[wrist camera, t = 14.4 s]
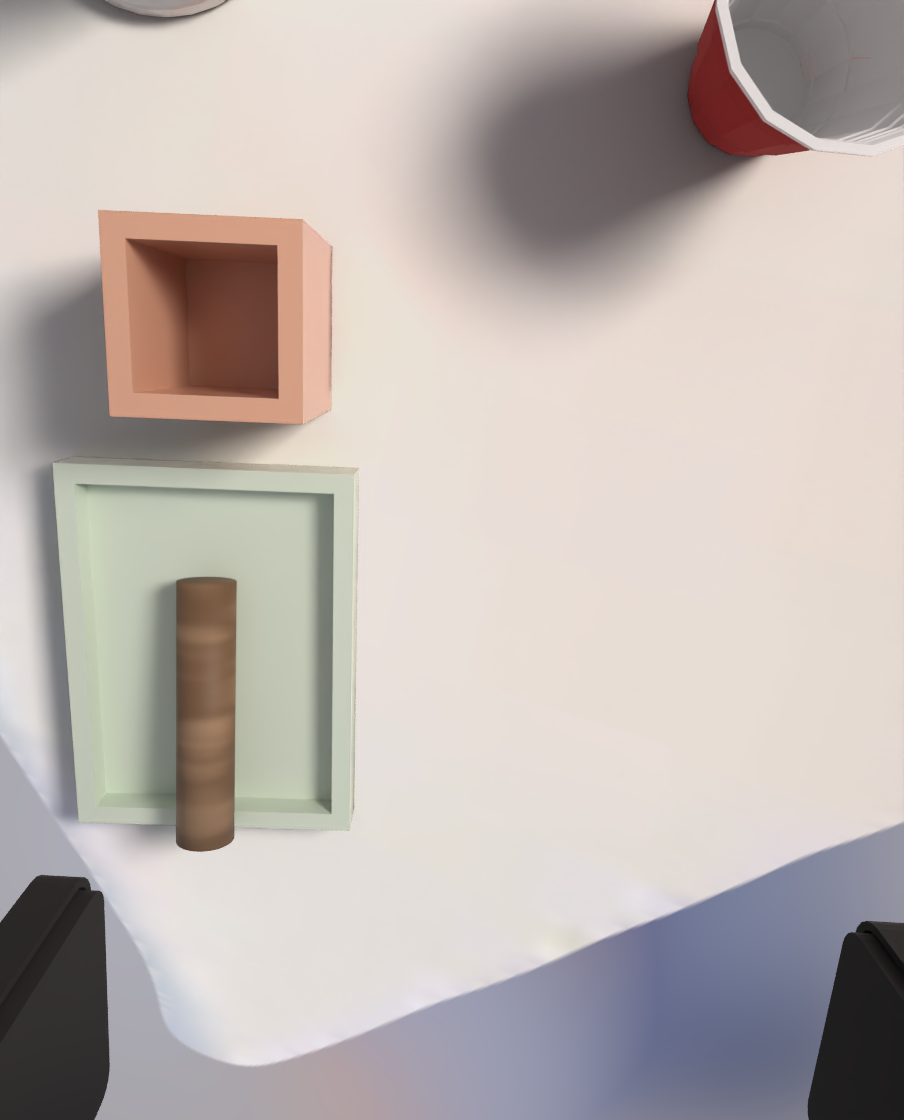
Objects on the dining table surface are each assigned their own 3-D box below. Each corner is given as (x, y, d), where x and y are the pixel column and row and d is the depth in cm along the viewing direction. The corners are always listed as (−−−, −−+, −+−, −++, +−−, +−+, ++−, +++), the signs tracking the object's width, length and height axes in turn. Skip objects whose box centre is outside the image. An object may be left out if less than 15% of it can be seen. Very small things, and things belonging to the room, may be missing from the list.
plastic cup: (898, 136, 41) (1079, 51, 29) (697, 252, 42) (794, 214, 30) (809, -89, 38) (967, -280, 27) (599, 40, 40) (663, -89, 28)
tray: (73, 456, 44) (52, 462, 42) (358, 468, 44) (354, 474, 42) (96, 799, 49) (78, 822, 47) (353, 807, 49) (349, 830, 47)
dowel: (170, 564, 42) (136, 862, 39) (230, 566, 42) (201, 865, 39) (209, 591, 49) (184, 844, 46) (260, 594, 49) (238, 846, 46)
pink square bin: (170, 239, 42) (98, 210, 33) (332, 246, 42) (302, 219, 33) (176, 403, 44) (109, 416, 35) (331, 409, 44) (302, 424, 35)
